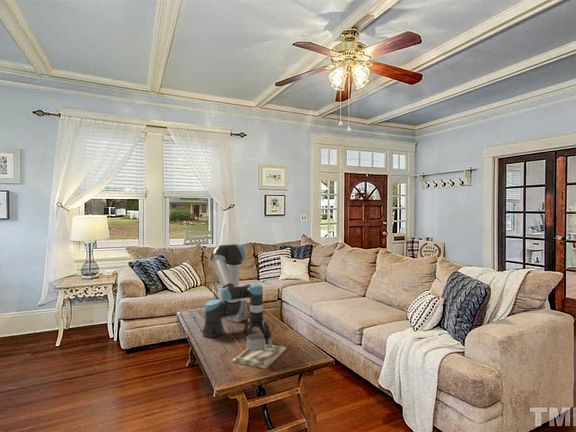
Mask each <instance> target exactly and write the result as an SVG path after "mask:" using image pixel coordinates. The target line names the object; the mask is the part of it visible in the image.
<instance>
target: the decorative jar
mask: <svg viewBox="0 0 576 432" xmlns="http://www.w3.org/2000/svg"><path fill="white" fill-rule="evenodd" d="M241 300H242V303H243V304H242V305H243V309H242V312H241V314H240V315H237V316H232V317H226V320H227V321H229V322H235V323H240V322H242V321H246V319H247V318H248V303H247V301H246V300H245V298H244V299H241Z"/></svg>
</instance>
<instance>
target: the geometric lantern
mask: <svg viewBox="0 0 576 432" xmlns="http://www.w3.org/2000/svg"><path fill="white" fill-rule="evenodd" d="M211 280H212V282H213V283H212V284H213V286H214V292H213V293H214V294H213V300H217V298H218V292H220V291H221V289H222V287H221V284H220V281H219V278H218V275H216V276H214V277H213V278H211ZM216 283H217V285H216ZM219 285H220V286H219ZM218 286H219V287H218ZM219 289H220V290H219Z"/></svg>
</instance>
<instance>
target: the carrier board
mask: <svg viewBox="0 0 576 432" xmlns="http://www.w3.org/2000/svg"><path fill="white" fill-rule="evenodd" d="M285 351H287V347H285V346H281V345H275V344H273V342H272V339H271V338H268V344H267V349H266V350H264V348H263V349H262V350H260V351H251V350H250V349H249V348H248V347H246V348H245V349H244V350H243V351H242V352H241V353H240V354H238V355H237V356H236V357H234V358H233V359H232V363H237V364H240V365H246V366H250V367H256V368H260V369H267V368H268V367H270V365H272V363H273V362H275V361H276V360H277V359H278V358H279V357H280V356H281V355H282V354H283V353H284V352H285Z"/></svg>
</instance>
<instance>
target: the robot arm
mask: <svg viewBox="0 0 576 432" xmlns="http://www.w3.org/2000/svg"><path fill="white" fill-rule="evenodd" d="M245 251H246V250H245V249H244V247H243V245H242V244H241V243H239V244H237V243H236V244H235V243H233V244H221V245H218V246H216V247H214V249H213V250H212V252H211V254H210V262H211V265H212V267H214V269H215V272H216V276H218V279H219V280H218V281H220V282H219V283H220V284H221V285H220V284H219V285H220V286H221V287H222V288H220V290H221V291H219V295H220V299H219V298H216V300H214V299H212V300H208V301H207V302H206V303H204V325H203V329H202V337H205V338H217V337H221V336H224V334H225V328H224V326H223V323H222V322H223V321H222V319H225V318H226V319H227V317H232V316H237V315H240V314H241V312H242V309H243V305H242V304H243V303H242V300H241V299H244V300H245V299H249V310H250V312H249V315H250V316H249V317H247V319H245V325H244V328H243V331H242V335H244V336H245V341H246V342H247V336H248V335H250V334H251V332H252V330H253V328H258V329H259V330H260V331H261V334H263V335H264V337H265V339H264V350H266V349H267V344H268V339H271V338H272V333H271V330H270V327H269V321H268V320H264V319H263V318H264V306H263V305H264V303H263V300H264V298H263V297H264V296H263V294H264V293H263V292H264V289H263V285H262V284H257V283H255V284H250V283H246V284H245V285H241V286H240V266H241V265H242V263H243V261H244V260H245V259H246V252H245ZM246 348H248V346H247V345H246Z"/></svg>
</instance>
